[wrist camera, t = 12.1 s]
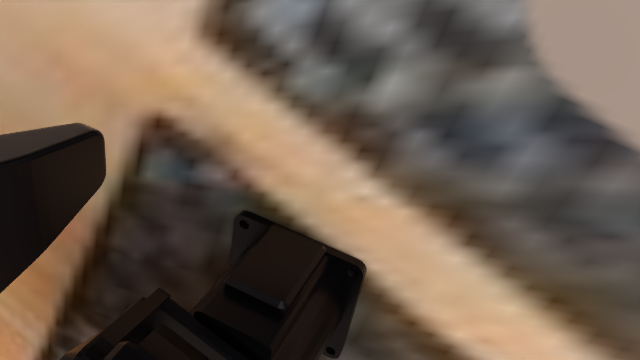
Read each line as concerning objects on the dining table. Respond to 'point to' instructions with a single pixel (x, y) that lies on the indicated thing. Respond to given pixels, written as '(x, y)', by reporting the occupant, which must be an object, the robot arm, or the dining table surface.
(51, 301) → the dining table surface
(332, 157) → the dining table surface
